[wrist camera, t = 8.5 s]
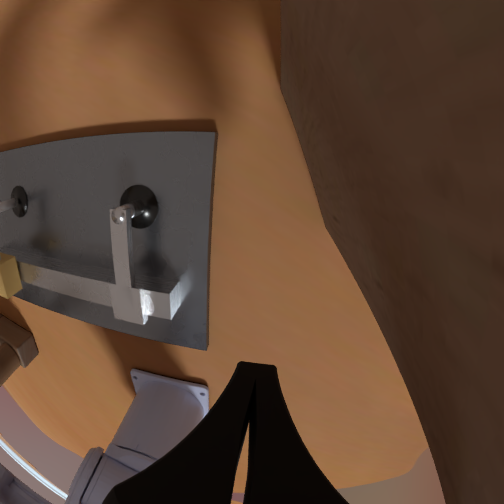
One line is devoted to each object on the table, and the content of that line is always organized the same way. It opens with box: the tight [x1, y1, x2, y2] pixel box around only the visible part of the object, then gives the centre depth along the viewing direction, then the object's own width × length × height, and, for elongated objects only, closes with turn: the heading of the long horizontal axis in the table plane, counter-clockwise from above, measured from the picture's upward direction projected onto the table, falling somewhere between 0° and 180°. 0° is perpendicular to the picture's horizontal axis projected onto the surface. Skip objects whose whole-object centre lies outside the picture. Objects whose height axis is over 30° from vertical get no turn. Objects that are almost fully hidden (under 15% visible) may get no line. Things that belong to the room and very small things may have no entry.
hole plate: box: [0, 132, 218, 351], centre depth 18 cm, size 16×26×4 cm, turn 85°
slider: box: [0, 198, 23, 299], centre depth 17 cm, size 8×3×4 cm, turn 175°
